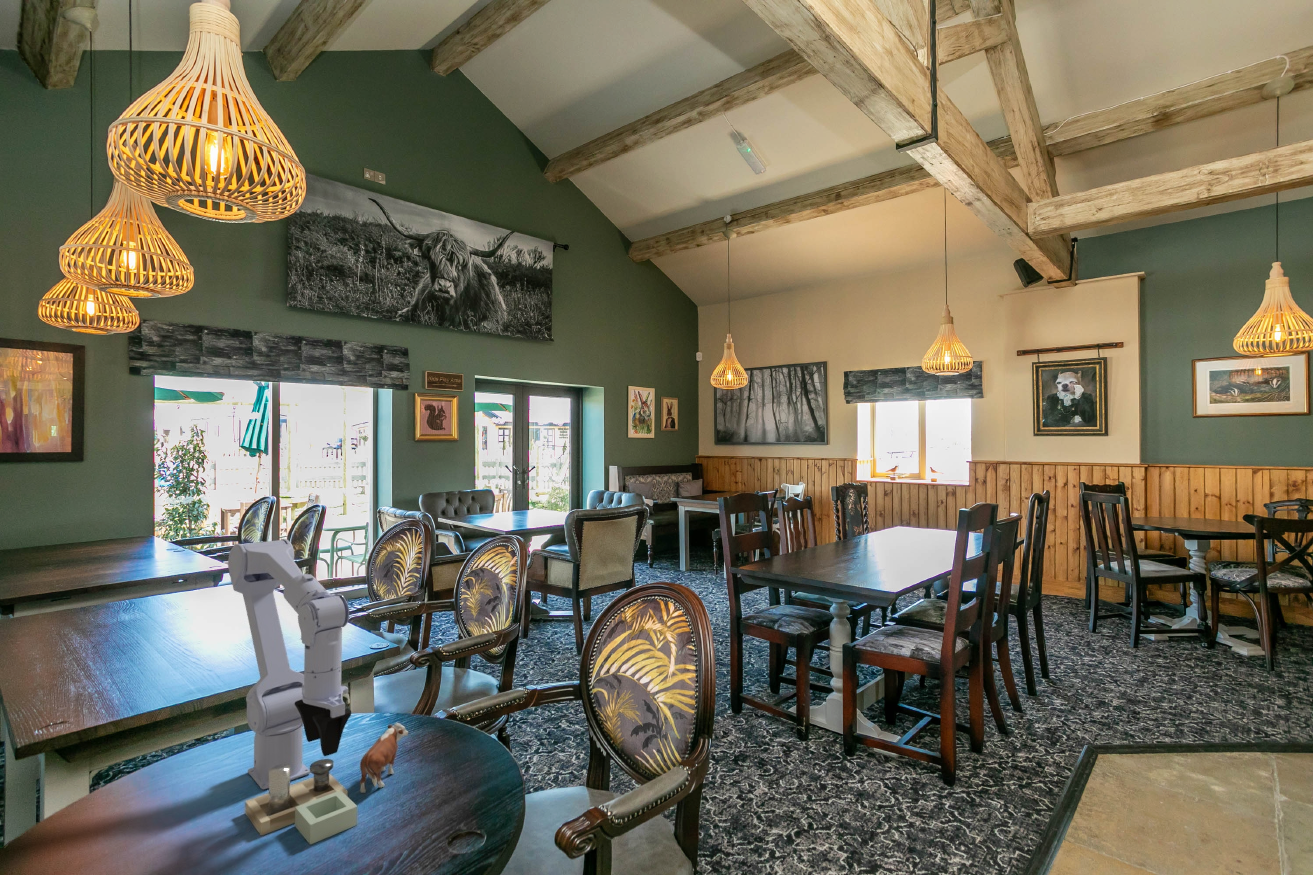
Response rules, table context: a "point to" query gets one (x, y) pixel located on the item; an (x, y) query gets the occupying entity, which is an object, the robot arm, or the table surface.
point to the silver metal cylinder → (279, 789)
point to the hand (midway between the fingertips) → (322, 746)
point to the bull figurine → (381, 755)
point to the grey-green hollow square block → (325, 816)
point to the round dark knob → (321, 774)
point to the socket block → (298, 796)
